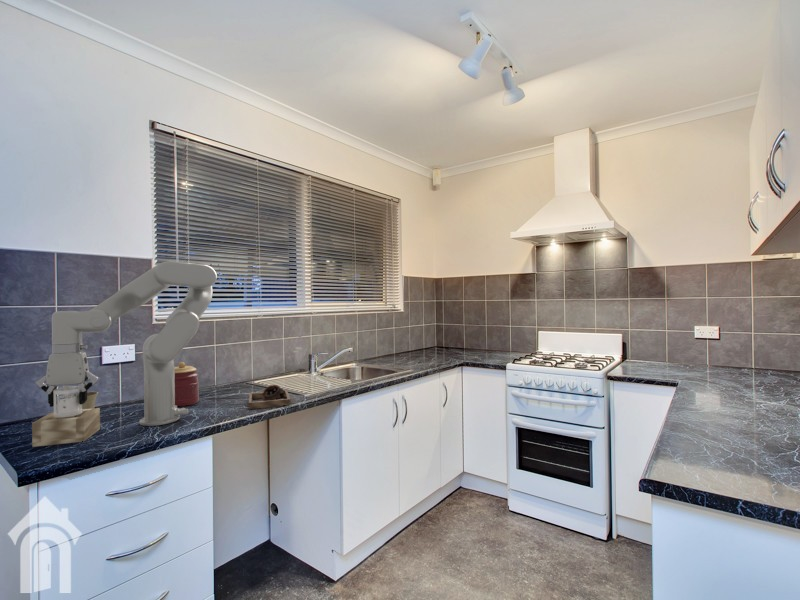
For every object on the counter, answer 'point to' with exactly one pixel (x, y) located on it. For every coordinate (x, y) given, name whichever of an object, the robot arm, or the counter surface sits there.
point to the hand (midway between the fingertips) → (68, 404)
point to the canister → (186, 385)
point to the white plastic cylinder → (67, 402)
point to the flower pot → (89, 400)
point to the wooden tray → (267, 403)
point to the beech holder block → (65, 428)
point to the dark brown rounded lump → (273, 393)
